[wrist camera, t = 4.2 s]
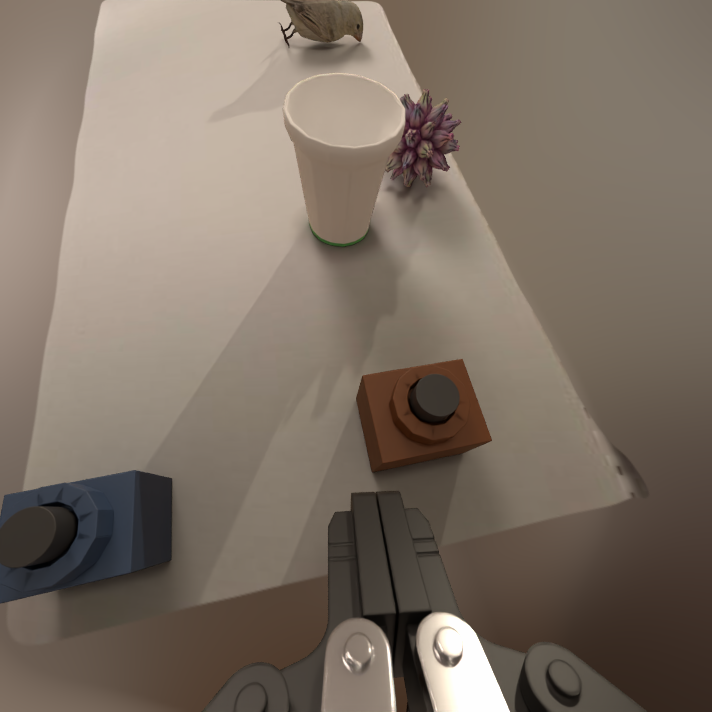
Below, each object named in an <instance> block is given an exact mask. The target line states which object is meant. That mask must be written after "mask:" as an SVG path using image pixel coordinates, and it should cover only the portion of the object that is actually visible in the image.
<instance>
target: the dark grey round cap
mask: <svg viewBox="0 0 712 712" xmlns="http://www.w3.org/2000/svg"><path fill="white" fill-rule="evenodd" d="M76 529H77V522H76V518H75V516H74V515H73V513H72V512H71V511H70V510H68V509H66V508H63V507H44V506H34V507H28V508H25V509H22V510H20V511H18V512H17V513H15V514H14V515H12V516H11V517H10V518H9V519H8V520H7V521H6V522H5V523H4V524H3V525H2V527H1V528H0V563H1V564H2V565H4V566H6V567H9V568H20V567H25V566H31V565H36V564H42V563H46V562H50V561H52V560H54V559H56V558H57V557H59V556H60V555H61V554H63V553H64V552H65V551H66V550H67V548H68V547H69V546H70V544H71V543H72V541H73V539H74V537H75V534H76Z"/></svg>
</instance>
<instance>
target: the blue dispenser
mask: <svg viewBox="0 0 712 712" xmlns="http://www.w3.org/2000/svg"><path fill="white" fill-rule="evenodd" d="M171 505H172V478H168V477H164V476H159V475H154V474H150V473H145V472H141V471H136V470H133V471H128V472H123V473H118V474H113V475H107V476H102V477H97V478H92V479H86V480H81V481H76V482H71V483H61V484H56V485H51V486H45V487H40V488H38V489H34V490H29V491H23V492H19V493H13V494H8V495H5V496H4V500H3V505H2V510H1V516H0V528H1V527H2V525H3V524H4V523H5V522H6V521H7V520H8V519H9V518H10V517H11V516H12V515H14V514H15V513H17V512H18V511H20V510H22V509H25V508H28V507H34V506H44V507H63V508H66V509H68V510H70V511H71V512H72V513H73V515H74V516H75V518H76V522H77V529H76V534H75V537H74V539H73V541H72V543H71V544H70V546H69V547H68V548H67V550H66V551H65V552H64V553H63V554H61V555H60V556H59V557H57V558H56V559H54V560H52V561H50V562H46V563H42V564H36V565H31V566H25V567H20V568H9V567H6V566H4V565H2V564H1V563H0V603H5V602H9V601H13V600H17V599H22V598H26V597H30V596H34V595H39V594H43V593H47V592H52V591H56V590H60V589H64V588H69V587H73V586H77V585H81V584H86V583H90V582H94V581H98V580H103V579H107V578H111V577H115V576H120V575H124V574H128V573H132V572H135V571H138V570H141V569H145V568H148V567H151V566H154V565H157V564H161V563H164V562H167V561H170V560H171Z"/></svg>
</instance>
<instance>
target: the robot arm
mask: <svg viewBox="0 0 712 712" xmlns="http://www.w3.org/2000/svg"><path fill="white" fill-rule="evenodd" d="M394 677H404V681H405V687H406V693H407V699H408V702H407V712H647V711H646V710H645V709H643V708H642V707H641V706H640V705H638V704H637V703H636V702H635V701H633V700H632V699H631V698H629V697H628V696H627V695H626V694H624V693H623V692H622V691H621V690H619V689H618V688H617V687H615V686H614V685H613V684H612V683H610V682H609V681H608V680H607V679H605V678H604V677H603V676H601V675H600V674H599V673H598V672H596V671H595V670H594V669H592V668H591V667H590V666H589V665H587V664H586V663H585V662H584V661H582V660H581V659H580V658H578V657H577V656H576V655H575V654H573V653H572V652H570V651H569V650H567V649H566V648H564V647H562V646H560V645H557V644H554V643H550V642H540V643H536V644H534V645H533V646H532V647H530V648H529V650H528V651H527V653H523V652H520V651H517V650H514V649H510V648H506V647H504V646H500V645H497V644H494V643H492V642H489V641H488V640H485V639H484V638H482V637H481V636H479V635H478V634H477V633H476V632H475V631H474V630H472V628H471V627H470V626H469V625H468V624H467V623H466V621H465V620H464V618H463V617H462V615H461V613H460V611H459V609H458V606H457V603H456V600H455V597H454V595H453V591H452V588H451V585H450V583H449V580H448V577H447V574H446V571H445V568H444V565H443V562H442V559H441V556H440V555H439V551H438V547H437V544H436V542H435V541H434V536H433V533H432V530H431V527H430V524H429V521H428V520H427V519H426V518H425V517H424V515H423V514H422V513H421V512H420V511H419V510H418V508H411V509H404V505H403V502H402V498H401V494H400V492H399V491H383V492H376V493H375V492H361V493H351V511H344V512H335V513H334V515H333V517H332V519H331V521H330V524H329V526H328V624H327V629H326V632H325V635H324V637H323V639H322V640H321V642H320V643H319V645H318V646H317V648H316V649H315V650H314V651H313V652H312V653H310V654H309V655H308V656H307V657H305V658H303V659H302V660H300V661H298V662H296V663H294V664H292V665H290V666H288V667H286V668H284V669H282V670H279V669H277V668H276V667H275V666H273V665H271V664H269V663H263V662H257V663H252V664H249V665H247V666H245V667H243V668H241V669H240V670H238V671H237V672H236V673H234V674H233V675H232V676H231V677H230V678H229V679H228V681H227V682H226V683H225V684H224V685H223V687H222V688H221V689H220V690H219V691H218V693H217V694H216V695H215V696H214V698H213V699H212V700H211V701H210V702H209V704H208V705H207V706H206V707H205V708H204V710H203V711H202V712H396V703H395V691H394V679H393V678H394Z"/></svg>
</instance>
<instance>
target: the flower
mask: <svg viewBox="0 0 712 712" xmlns="http://www.w3.org/2000/svg"><path fill="white" fill-rule="evenodd" d="M400 101H401V103H402V105H403V106H404V108H405V127H404V131H403V135H402V139H401V141H400V142H399V144H398V145H397V147H396V149H395V150H394V152H393V153H392V154H391V155H390V156H389V158H388V162H387V165H386V168H385V171H387V172H389V171H390V170H393V169H394V171H393V175H392V176H391V178H390V179H392V180H394V179H395V178H396V177H397V176H399V175H401V174H402V173H403V176H404V184H405V185H406V186H408V187H411V184H412V182H413V181H414V179H415V178H416V177H417V175H418V176H419V178H420V180H422V181H423V182H424V183H425V185H426V187H427V186H428V185H431V181H430V180H431V176H432V167H433V168H436V169H442V170H443V171H446V172H447V171H448V170H449V168H450V167H449V166H448V164H447V162H446V158H445V156H444V154H448V153H450V152H452V151H458V150H459V147H460V146H458V145H457V143H458V140H454V139H453V137H454V135H453V133H451V132H452V131H453V129H454V128H455V127H456V126H458V125H459V124H460V123H461V121H460V120H456V121H450V119H451V118H452V115H451V114H450V113H449V114H447V115H444V114H445V112H446V110H447V108H448V106H447V104H448V102H449V100H447V99H446V98H445V99H444V100H443V101H442V102H441V103H440V104H438V105H436V106H435V107H433V108H432V105H431V101H432V98H431V97H430V96H429V90H428V89H427V90H426V89H423V93H422V96H421V97H420V99H419V100H418V102H417V104H416V105H415V103H414V102H413V101H412V100H411V99H410V97H409V94H406V95H405V94H404V96H403V97H401V99H400Z"/></svg>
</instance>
